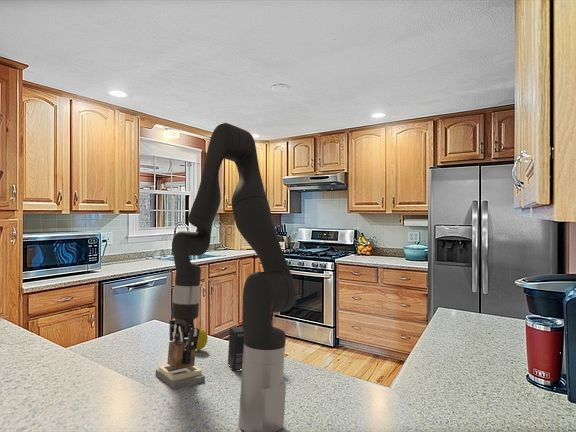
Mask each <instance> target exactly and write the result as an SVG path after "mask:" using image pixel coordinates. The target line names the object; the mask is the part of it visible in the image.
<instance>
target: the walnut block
mask: <svg viewBox="0 0 576 432" xmlns="http://www.w3.org/2000/svg"><path fill="white" fill-rule="evenodd" d="M193 344H194V343H193ZM186 346H187V342H186ZM196 351H197V349H195V350H192V351H191V362H190V364H187V365H183V364H182V359H183V343H181V340H180V341H174V342H172V341H169V342H168V352H167V365H170V366H171V367H173V368H174V369H176V370H177V369H182V368H186V367H191V366H195V363H196Z"/></svg>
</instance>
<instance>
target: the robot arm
mask: <svg viewBox="0 0 576 432" xmlns="http://www.w3.org/2000/svg"><path fill="white" fill-rule="evenodd" d="M208 142H209V143H208V147H207V149H206V150H207V151H206V156H205V160H204V164H203V168H202V169H203V170H202V173H201V178H200V182H199V186H198V191H197V193H196V196H195V199H194V201H193V203H192V206H191V208H190V211H189V212H188V213H189V214H188V216H187V217H188V218H187V221H188V222H189V224H190V225H191V226H193V227H195V228H196V230H195V231H190V230H189V231H188V230H180V231H178V232H176V233H175V234H174V236H173V238H172V240H171V251H172V255H173V261H174V267H175V276H174V277H175V278H174V288H173V293H172V300H171V301H172V302H171V303H172V304H171V314H170V316H171V318H172V319H170V320H169V342H174V341H180V340H181V343H183V359H182V364H183V365H187V364H190V362H191V351H192V350H195V349H196V348H197V343H198V337H199V332H200V330H199V328H200V327H198V328H196V327H195V323H194V321H195V319H197V318H198V317H199V311H200V299H201V276H202V268H201V266H200V265H199V264H195V263H192V261H191V259H190V257H191V256H192V257H194V256H195V257H199V256H203V255H204V254H206V252H207V251H208V250H209V248H210V246H211V245H210V244H211V238H212V228H213V222H214V221H215V217H216V216H217V213H218V211H219V208H220V205H221V199H222V197H221V187H220V179H219V178H220V177H219V175H220V169H221V166H222V163H223V161H224V160H227V161H231V162H233V163H234V164H235V166H236V170H237V173H238V181H237V184H236V187H235V189H234V191H233V194H232V197H231V209H232V214H233V218H234V224H235V226H236V229H237V230H238V232H239V233H240V235H241V236H242V238H243V239H244V240H245V241H246V243H247V244H248V245H249V246H250V248H252V249H253V251H254V252H255V254H256V255H257V257H258V259H259V261H260V264H261V267H262V270H263V271H256V272H252V273H250V274H249V275H248V276H247V278H246V280H245V282H244V285H243V288H242V289H243V290H242V291H243V293H242V317H241V318H242V321H241V322H242V323H241V324H242V326H241V327H243V333H244V350H243V364H242V371H241V380H240V392H239V393H240V395H239V396H240V397H239V409H238V410H239V411H238V412H239V413H238V427H239V428H240V429H241V430H242V431H243V430H244V431H243V432H278V431H280V430H282V429H284V426H285V425H284V424H285V408H286V393H287V392H286V391H287V389H286V388H287V384H286V382H284V369H285V355H286V354H285V353H286V351H285V350H286V339H287V336H286V332H285V331H284V330H283V329H281V328H280V327H279V328H278V327H275V326H273V324H272V323H273V322H272V314H273V313H282V312H286V311H289V310H291V309H292V307H293V306H294V304H295V302H296V299H297V298H296V295H297V292H296V286H295V285H296V284H295V281H294V278H293V275H292V272H291V270H290V268H289V265H288V262H287V259H286V258H285V255H284V252H283V249H282V246H281V243H280V240H279V237H278V234H277V231H276V227H275V223H274V220H273V215H272V212H271V208H270V204H269V200H268V198H267V194H266V191H265V187H264V183H263V178H262V175H261V170H260V166H259V159H258V153H257V145H256V141H255V139H254V136H253V135H252V134H251V133H250V132H249V131H248V130H246V129H244V128H241V127H239V126H235V125H233V124H231V123H228V122H221V123H219V124H217V125H216V126H215V128H214V129H213V132H212V134H211V137H210V139H209V141H208ZM186 342H187V346H186ZM193 342H194V344H193ZM196 350H197V349H196Z"/></svg>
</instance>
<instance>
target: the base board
mask: <svg viewBox="0 0 576 432" xmlns="http://www.w3.org/2000/svg"><path fill="white" fill-rule="evenodd" d="M202 371H203V370H202V369H201V368H199V367H197V366H196V365H194V366H191V367H186V368H182V369H177V370H176V369H174V368H173V367H171V366H170V365H168V364H167V365H162V366H159V367H158V368H157V369H155V376H157V377H158V378H159V379H160V380H161V381H162V382H164V383H165V384H167V385H168V386H169V387H171V389H173V390H177V389H181V388H185V387H189V386H193V385H197V384H200V383H204V382H205V381H206V375H204V374H203V373H202Z"/></svg>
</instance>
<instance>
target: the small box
mask: <svg viewBox="0 0 576 432" xmlns="http://www.w3.org/2000/svg"><path fill="white" fill-rule="evenodd" d="M228 335H229V336H228V337H229V338H228V350H227V351H228V355H227V365H228V364H229V365H230V367H231V368H232V369H233V370H232V369H231V368H230V367H229V368H230V369H231V370H232V371H233V372H234V371H236V370H240V369H242V364H243V350H244V333H243V327H242V326H234V327H233V326H231V327H229V334H228ZM236 372H237V371H236Z"/></svg>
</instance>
